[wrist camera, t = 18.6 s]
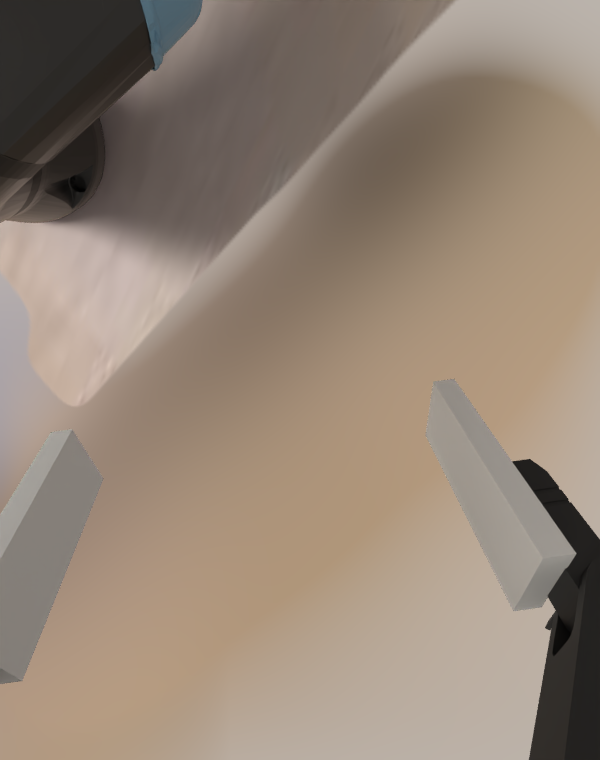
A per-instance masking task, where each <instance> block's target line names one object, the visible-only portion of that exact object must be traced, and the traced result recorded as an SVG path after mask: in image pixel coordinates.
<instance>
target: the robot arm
mask: <svg viewBox="0 0 600 760" xmlns="http://www.w3.org/2000/svg"><path fill="white" fill-rule="evenodd" d="M201 7H202V0H0V223H1V222H3V221H5V220H8V221H16V222H25V223H41V222H48V221H53V220H57V219H60V218H62V217H65V216H67V215H69V214H70V213H72V212H74V211H75V210H77V209H78V208H80V207H81V206H83V205H84V204H85V203H86V202H87V201H88V200H89V199H90V198H91V197H92V195H93V194H94V192H95V191H96V189H97V187H98V185H99V183H100V180H101V177H102V174H103V169H104V161H105V145H104V137H103V132H102V127H101V123H100V120H99V117H100V116H101V115H102V114H103V113H104V112H105V111H106V110H107V109H108V108H109V107H111V106H112V105H113V104H114V103H115V102H116V101H117V100H118V99H119V98H120V97H121V96H123V95H124V94H125V93H126V92H127V91H128V90H129V89H130V88H131V87H132V86H134V85H135V84H136V83H137V82H138V81H139V80H140V79H141V78H142V77H143V76H144V75H146V74H147V73H148V72H149V71H150V70H154V71H156V70H157V69H158V68H159V66H160V64H161V63H162V61H163V56H164V55H165V54H166V53H167V52H168V51H169V50H170V49H171V48H172V46H173V45H174V44H175V43H176V42H177V41H178V40H179V39H180V38H181V37H182V36H183V35H184V34H185V33H186V32H187V31H188V30H189V29H190V28H191V27H192V26H193V25H194V23H195V22H196V20H197V18H198V16H199V14H200V11H201ZM426 437H427V439H428V441H429V443H430V445H431V447H432V449H433V451H434V453H435V455H436V457H437V459H438V461H439V463H440V465H441V467H442V469H443V471H444V473H445V475H446V477H447V479H448V481H449V483H450V485H451V487H452V489H453V491H454V493H455V495H456V497H457V499H458V501H459V503H460V505H461V507H462V509H463V511H464V513H465V515H466V517H467V519H468V521H469V523H470V525H471V527H472V529H473V531H474V533H475V535H476V537H477V539H478V541H479V543H480V545H481V547H482V549H483V551H484V553H485V555H486V557H487V559H488V561H489V563H490V565H491V567H492V569H493V571H494V573H495V575H496V577H497V579H498V581H499V583H500V585H501V587H502V589H503V591H504V593H505V595H506V597H507V599H508V601H509V603H510V605H511V607H512V609H513V611H518V610H524V609H532V608H539V607H542V605H543V604H544V602H545V601H546V599H547V598H549V599H550V601H551V603H552V605H553V606H554V608H555V610H556V611H555V613H554V614H553V615H552V617H551V618H550V620H549V621H548V623H547V625H546V627H545V628H546V629H548V630H551V635H550V641H549V647H548V652H547V658H546V664H545V669H544V675H543V681H542V687H541V693H540V698H539V704H538V710H537V716H536V722H535V727H534V734H533V739H532V745H531V751H530V757H529V760H600V539H599V538H598V537H597V535H596V534H595V533H594V532H593V530H592V529H591V528H590V526H589V525H588V524H587V522H586V521H585V520H584V519H583V517H582V516H581V515H580V513H579V512H578V511H577V510H576V508H575V507H574V506H573V504H572V503H570V502H569V501H568V498H567V497H566V495H565V494H564V493H563V492H562V490H560V489H559V486H558V485H557V484H556V482H555V481H554V480H553V479H552V477H551V476H550V475H549V474H548V472H547V471H545V470H544V469H543V468H542V467H540V466H539V465H537V464H536V463H534V462H533V461H532V460H531V459H527V460H520V461H513V462H512V461H511V459H510V458H509V457H508V455H507V454H506V452H505V451H504V449H503V448H502V447H501V445H500V444H499V442H498V441H497V439H496V438H495V437H494V435H493V434H492V432H491V431H490V429H489V428H488V427H487V425H486V424H485V422H484V421H483V419H482V418H481V417H480V415H479V414H478V412H477V411H476V409H475V408H474V407H473V405H472V404H471V402H470V401H469V399H468V398H467V397H466V395H465V394H464V393H463V391H462V389H461V388H460V387H459V385H458V384H457V382H456V381H455V380H454V379H450V380H443V381H435V382H433V388H432V395H431V402H430V409H429V416H428V422H427V430H426ZM102 481H103V477H102V475H101V474H100V472H99V471H98V469H97V468H96V466H95V464H94V463H93V461H92V460H91V458H90V457H89V455H88V453H87V452H86V450H85V449H84V447H83V445H82V444H81V442H80V441H79V439H78V438H77V436H76V435H75V433H74V431H73V430H64V431H57V432H51V433H50V435H49V436H48V438H47V439H46V441H45V443H44V444H43V446H42V448H41V449H40V451H39V453H38V454H37V456H36V458H35V459H34V461H33V462H32V464H31V466H30V467H29V469H28V470H27V472H26V474H25V475H24V477H23V479H22V480H21V482H20V483H19V485H18V487H17V488H16V490H15V492H14V493H13V495H12V496H11V498H10V500H9V502H8V503H7V505H6V506H5V508H4V510H3V511H2V513H1V515H0V684H4V683H11V682H18V681H22V680H23V677H24V675H25V673H26V670H27V668H28V665H29V662H30V660H31V658H32V655H33V653H34V650H35V648H36V645H37V642H38V640H39V638H40V635H41V633H42V630H43V628H44V625H45V623H46V620H47V618H48V615H49V613H50V610H51V608H52V605H53V603H54V600H55V598H56V595H57V593H58V591H59V588H60V586H61V583H62V580H63V578H64V575H65V573H66V571H67V568H68V566H69V563H70V561H71V558H72V555H73V553H74V551H75V548H76V546H77V543H78V541H79V538H80V536H81V533H82V531H83V528H84V526H85V523H86V521H87V518H88V516H89V513H90V511H91V508H92V505H93V503H94V501H95V498H96V496H97V493H98V491H99V488H100V486H101V483H102ZM551 628H552V629H551Z"/></svg>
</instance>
